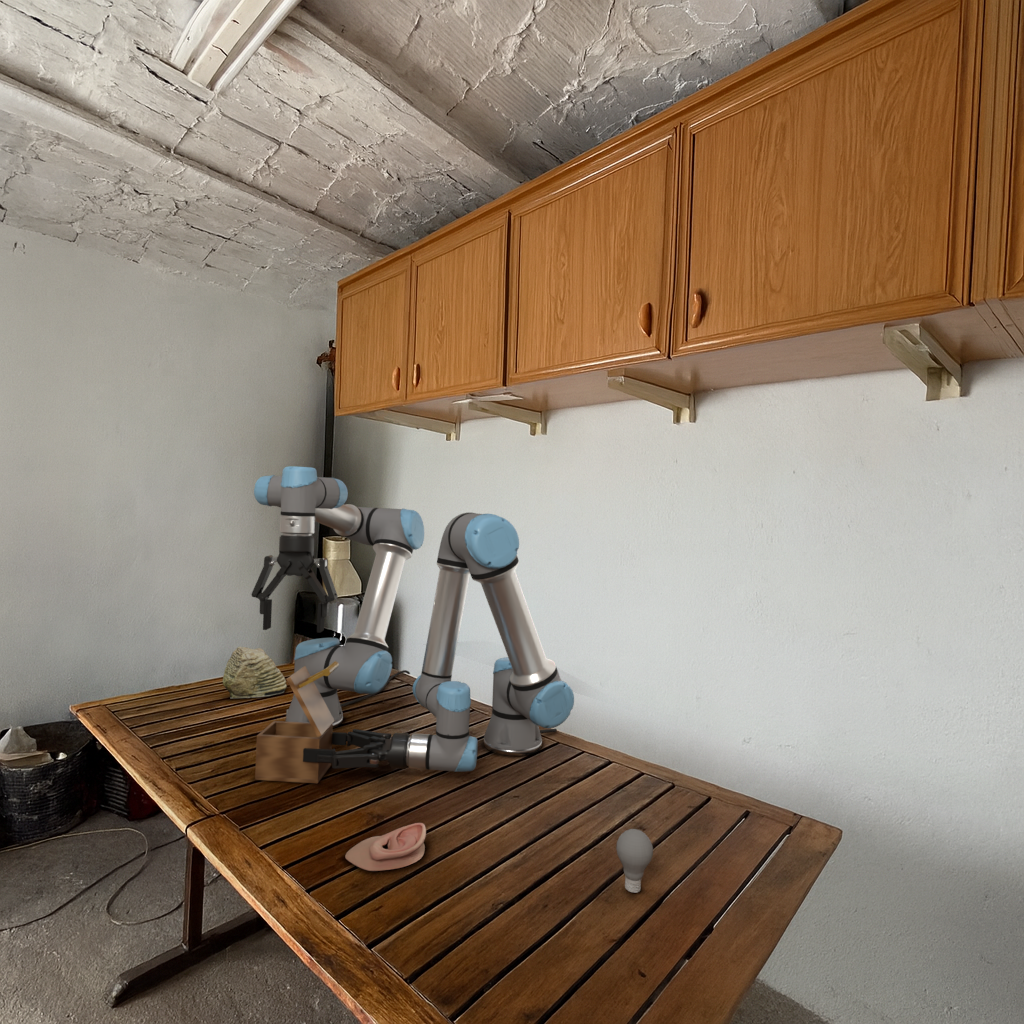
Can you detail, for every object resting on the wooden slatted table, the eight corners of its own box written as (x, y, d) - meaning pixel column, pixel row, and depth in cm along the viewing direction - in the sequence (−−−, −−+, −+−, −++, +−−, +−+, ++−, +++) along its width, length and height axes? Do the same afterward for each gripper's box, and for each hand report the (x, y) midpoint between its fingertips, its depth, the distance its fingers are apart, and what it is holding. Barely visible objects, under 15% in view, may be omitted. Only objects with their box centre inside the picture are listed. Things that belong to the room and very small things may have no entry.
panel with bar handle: (286, 679, 140) (321, 660, 139) (301, 667, 149) (334, 650, 149) (317, 737, 140) (352, 719, 139) (331, 722, 149) (363, 705, 149)
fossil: (218, 695, 195) (220, 647, 195) (278, 685, 208) (279, 640, 207) (228, 703, 189) (230, 653, 188) (289, 692, 201) (290, 645, 201)
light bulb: (610, 879, 108) (613, 822, 108) (644, 879, 109) (647, 822, 109) (619, 902, 102) (622, 840, 102) (655, 901, 103) (658, 840, 103)
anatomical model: (337, 842, 109) (366, 811, 120) (336, 865, 109) (365, 832, 120) (410, 854, 106) (432, 821, 117) (409, 878, 106) (432, 842, 118)
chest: (254, 779, 140) (256, 735, 140) (272, 762, 150) (273, 720, 149) (317, 783, 140) (319, 739, 140) (331, 765, 149) (332, 723, 149)
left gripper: (237, 533, 140) (234, 630, 141) (344, 537, 140) (340, 636, 140) (252, 531, 148) (248, 624, 148) (353, 536, 147) (350, 629, 148)
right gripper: (398, 789, 133) (293, 783, 133) (417, 748, 155) (326, 743, 156) (400, 754, 133) (294, 748, 133) (418, 717, 155) (327, 713, 155)
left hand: (293, 630), depth 144 cm, fingers open, 12 cm apart
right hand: (311, 745), depth 144 cm, fingers closed on chest, 9 cm apart
